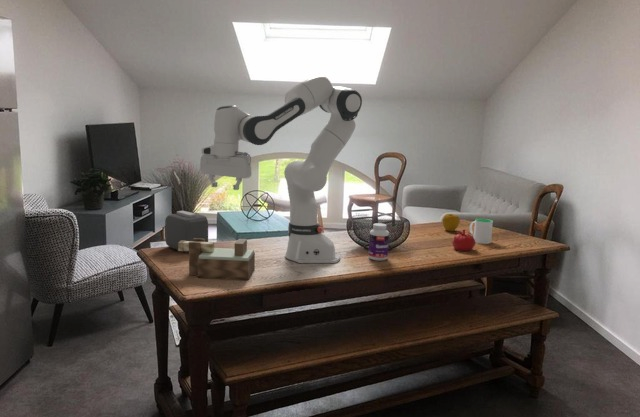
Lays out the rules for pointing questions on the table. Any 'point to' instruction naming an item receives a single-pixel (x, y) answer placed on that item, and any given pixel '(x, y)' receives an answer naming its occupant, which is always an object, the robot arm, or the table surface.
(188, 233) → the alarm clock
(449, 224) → the apple
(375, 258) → the pill bottle
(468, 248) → the pomegranate
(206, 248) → the bar
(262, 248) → the table surface
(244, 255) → the lid
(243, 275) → the chest
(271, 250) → the table surface
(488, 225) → the mug
